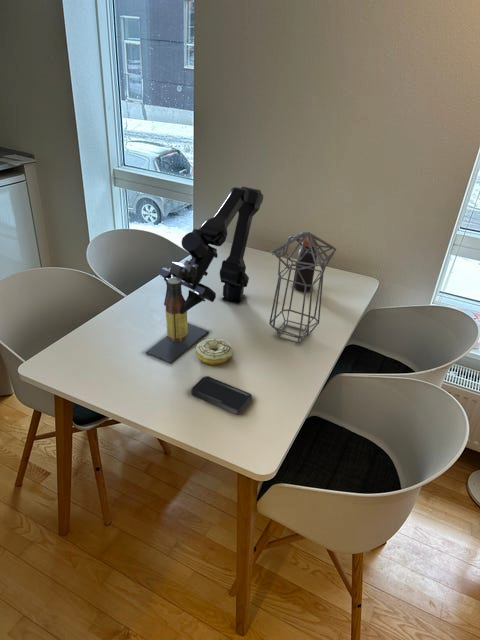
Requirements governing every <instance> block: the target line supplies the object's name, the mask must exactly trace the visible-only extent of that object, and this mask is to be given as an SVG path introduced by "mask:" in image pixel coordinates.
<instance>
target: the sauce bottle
mask: <svg viewBox="0 0 480 640" xmlns="http://www.w3.org/2000/svg"><path fill="white" fill-rule="evenodd" d="M167 284H168V289H169V292H168V293H169V294H168V296H167V297H166V299H165V298H164V302H165V305H166V306H165V305H164V306H165V320H166V321H165V322H166V323H165V324H166V334H167V335H166V336H168V338H169V340H170V341H173V342H182V341H184V340H186V339H187V336H188V325H187V323H188V311H186V312H185V313H184V314H180V311H181V308H182V307H183V305H184V303H185V301H186V299H185V297H184V295H183V291H182V286H183V285H182V280H181V279H180V278H177V277H173V278H170V279H168V281H167ZM167 284H166V285H167Z"/></svg>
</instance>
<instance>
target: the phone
mask: <svg viewBox="0 0 480 640" xmlns="http://www.w3.org/2000/svg"><path fill="white" fill-rule="evenodd" d="M190 393H191V395H192V396H193V397H196V398H198V399H201V400H202V401H204V402H207V403H210V404H212V405H214V406H216V407H218V408H221V409H223V410H225V411H228V412H230V413H232V414H234V415H240V414H242V413H243V412H244V410H245V409H246V408H247V406H248V405H249V404H250V403H251V401H253V395H252V393H250V392H248V391H245V390H242V389H240V388H238V387H235V386H233V385H230V384H228V383H226V382H223V381H221V380H218V379H216V378H213V377H211V376H209V375H205V376H203V377H202V378H201V379H200V380H199V381H198V382H196V383H195V384H194V385H193V386H192V387H191V390H190Z"/></svg>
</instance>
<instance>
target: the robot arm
mask: <svg viewBox="0 0 480 640" xmlns="http://www.w3.org/2000/svg"><path fill="white" fill-rule="evenodd" d="M263 201H264V194H263V193H262V190H261V189H257V188H253V187H248V186H241V187H237V186H234V187H232V188H231V189H230V192H229V194H228V196H227V198H226V199H225V201H224V202H223V204H222V205H221V206H220V208H219V210H218V211H217V213H216V214H215V215H214V216H213V217H211V218H208V219H206V220H205V222H204V223H203V224H202V225H201V226H200V227H199V228H198V229H197V228H193V229H192V231H190V232H187V233H186V234H185V235H184V236H183V237H182V239H181V246H182V248H183V249H184V251H185V252H187V253H188V254H189V255H190V256H191V258H190V259H189V260H188V259H187V260H185V261H184V263H182V262H181V263H180V262H175V261H172V262H171V265H170V268H168V267H163V268H161V269H160V270H159V273H158V275H159V276H160V277H162V278H163V280H164V281H165V284H166V291H165V298H164V300H165V299H166V297H167V296H168V294H169V293H168V292H169V289H168V284H167V281H168V279H170V278H173V277H177V278H180V279H181V280H182V285H181V286H184V287H186V288H188V289H189V290H188V294H187V298H186V299H185V303H184V305H183V307H182V308H181V311H180V314H184V313H185V312H186V311H187V312H188V311H189V310H191V309H192V308H193V307H195V306H196V305H198V304H200V303H202V302H204V303H205V302H206V300H207V301H209V302H211V303H214V301H215V300H216V298H217V293H216V292H215V291H214V290H213V289H212V288H210V287H209V286H207V285H206V284H203V283H201V281H202V279H203V278H204V277H207V276H208V274H209V272H207V270H208V269H209V267H210V265H211V263H212V262H213V260H214V258H215V259H217V258H218V251H217V248H215V247H213V246H216V247H221V246H222V245H223V244H224V243H225V242H226V240H227V236H228V227H230V225H231V222H232V221H233V220H234V218H235V217H236V215H237V214H238V215H237V220H236V224H235V229H234V233H233V237H232V242H231V247H230V251H229V255H228V256H227V257H226V259H223V260H222V262H221V266H220V269H219V279H220V283H223V284H224V285H223V286H222V297H221V300H222V301H225V302H229V303H232V304H236V305H237V304H238V305H239V304H240V303H241V302H242V301H243V300H244V298H245V297H246V295H245V294H244V293H245V292H244V291H245V288H247V287H248V284H249V280H250V277H249V276H248V274H247V273H246V270H247V266H246V264H245V260H244V258H245V257H244V256H245V252H246V248H247V243H248V239H249V234H250V230H251V225H252V221H253V217H254V216H255V215H256V214H257V213H258V211H260V208H261V205H262V204H263ZM163 305H164V306H165V307H166V305H165V301H164V302H163Z"/></svg>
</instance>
